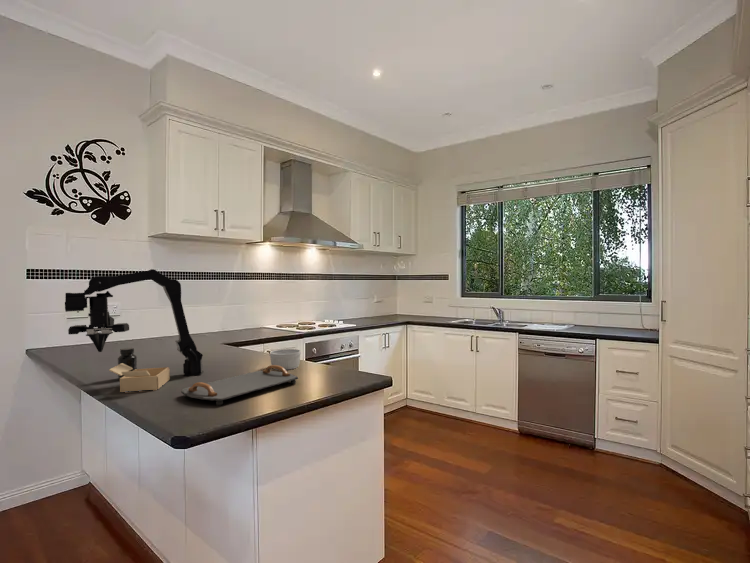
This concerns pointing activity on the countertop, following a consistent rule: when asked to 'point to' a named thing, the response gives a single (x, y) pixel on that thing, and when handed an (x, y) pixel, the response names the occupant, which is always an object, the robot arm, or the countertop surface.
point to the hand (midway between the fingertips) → (100, 351)
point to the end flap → (136, 373)
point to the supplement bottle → (127, 359)
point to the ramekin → (285, 358)
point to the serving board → (239, 385)
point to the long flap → (120, 369)
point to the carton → (146, 380)
